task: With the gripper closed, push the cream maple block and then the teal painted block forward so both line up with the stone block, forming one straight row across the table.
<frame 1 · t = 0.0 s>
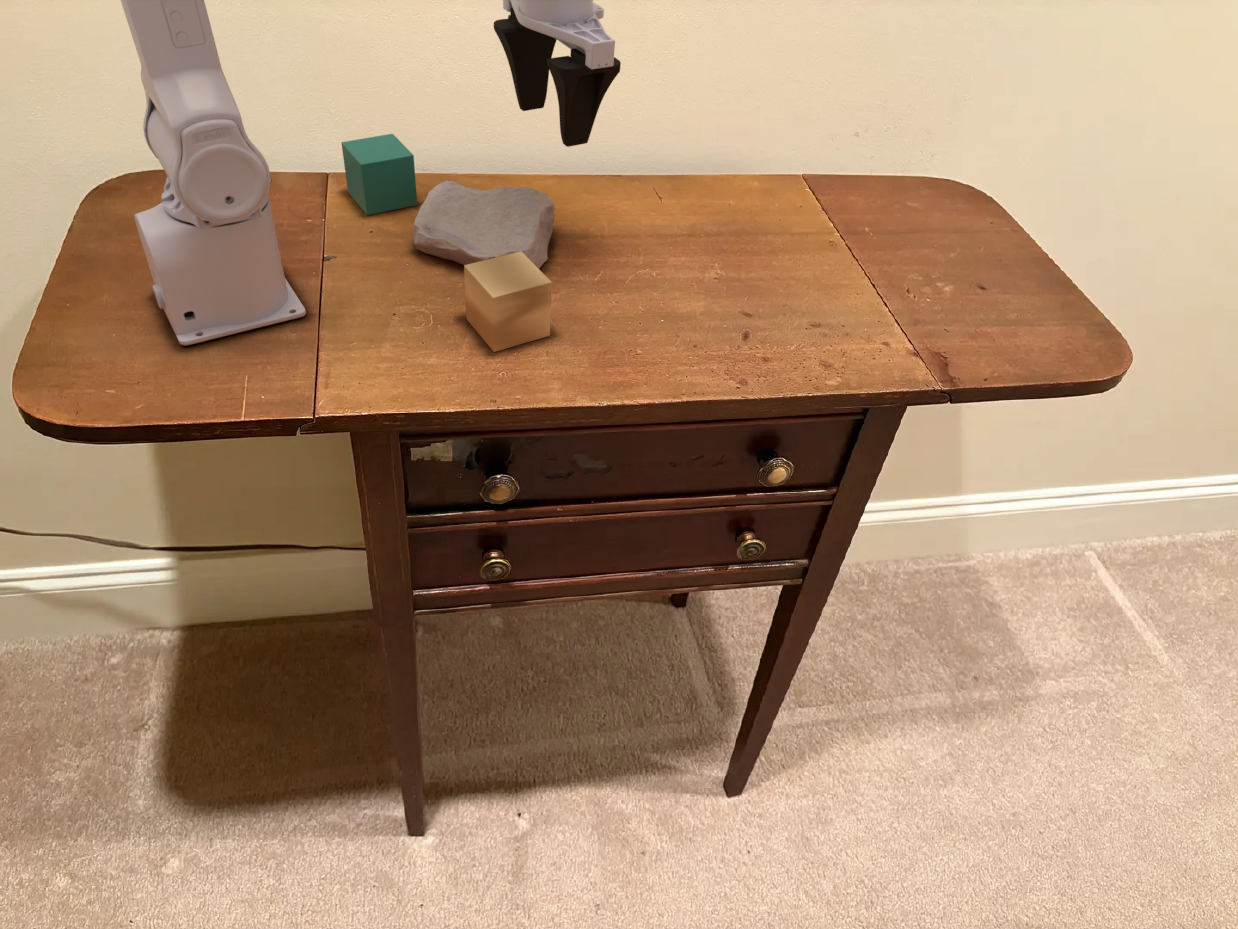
hand: (552, 125, 78), 10 cm above the table, tool pointing down, fingers open, 7 cm apart
teal block: (382, 198, 87), on the table
maple block: (507, 327, 74), on the table
stone block: (483, 249, 83), on the table
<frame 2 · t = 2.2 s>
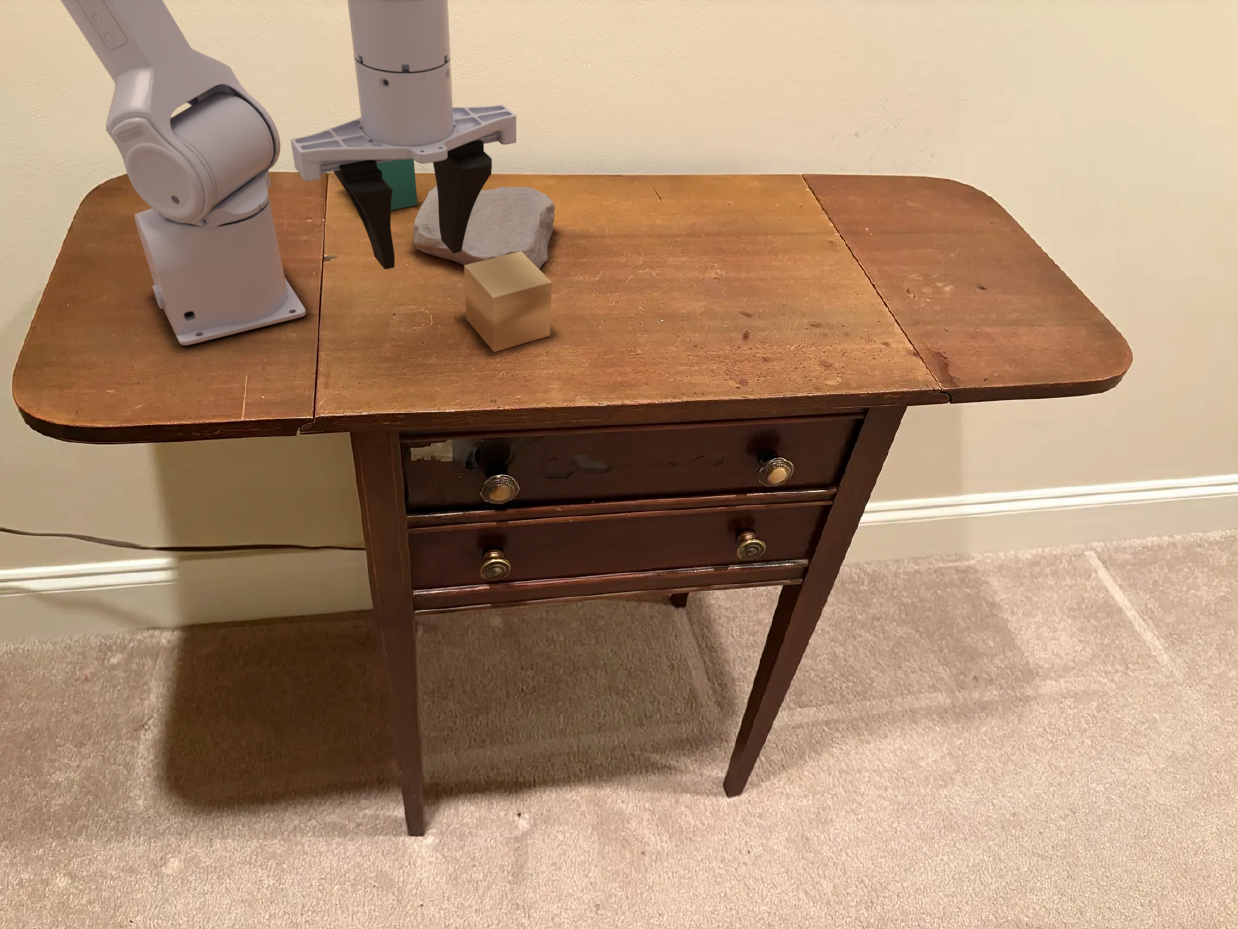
hand: (418, 253, 65), 8 cm above the table, tool pointing down, fingers open, 4 cm apart
nothing on the table moved.
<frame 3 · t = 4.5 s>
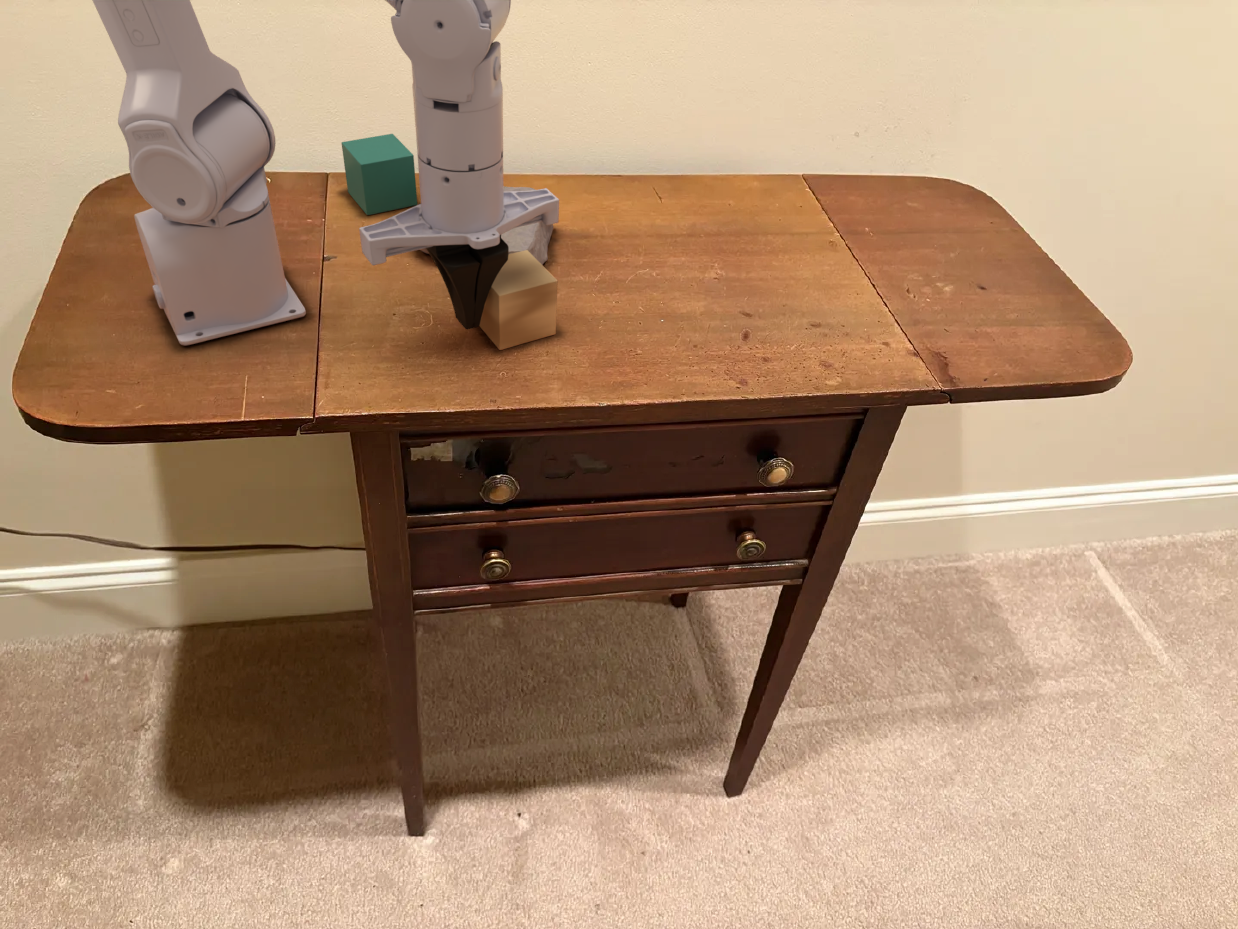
hand: (467, 321, 71), 2 cm above the table, tool pointing down, fingers closed
maple block: (513, 325, 74), on the table, touching gripper
everything else where it was.
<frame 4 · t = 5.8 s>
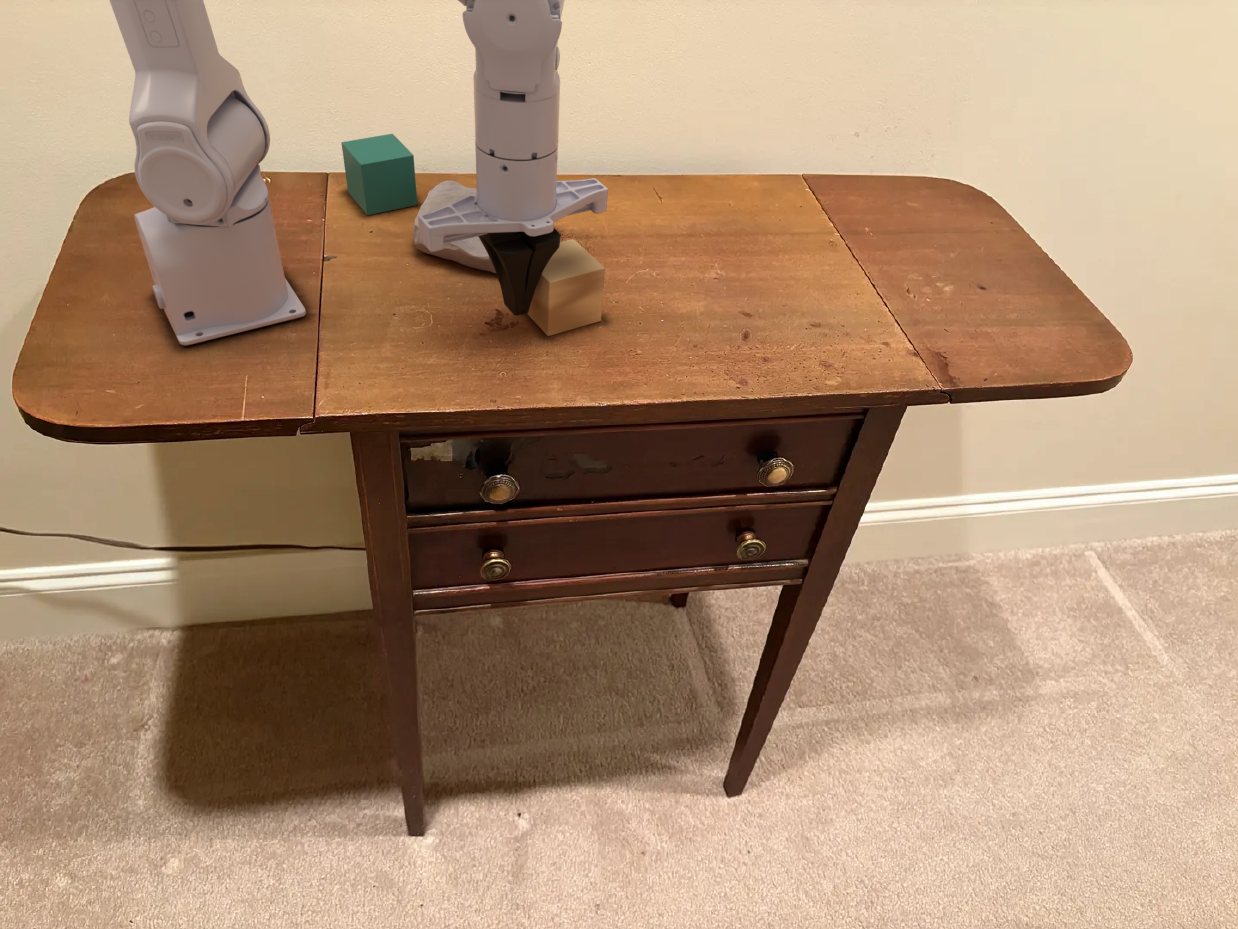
hand: (516, 308, 73), 2 cm above the table, tool pointing down, fingers closed
maple block: (559, 312, 76), on the table, touching gripper
everything else where it was.
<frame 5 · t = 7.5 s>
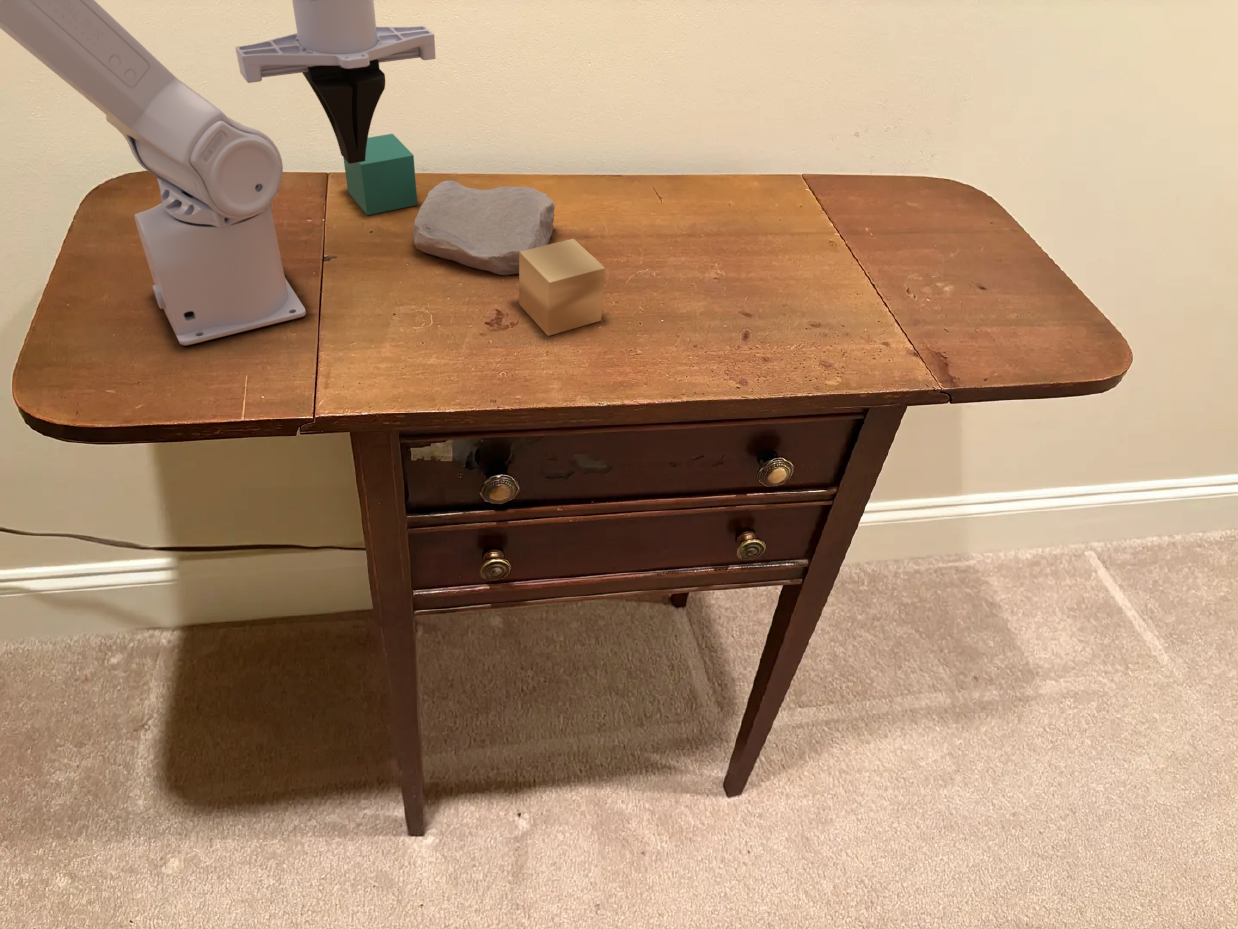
hand: (353, 157, 75), 8 cm above the table, tool pointing down, fingers closed
maple block: (559, 312, 76), on the table
everything else where it was.
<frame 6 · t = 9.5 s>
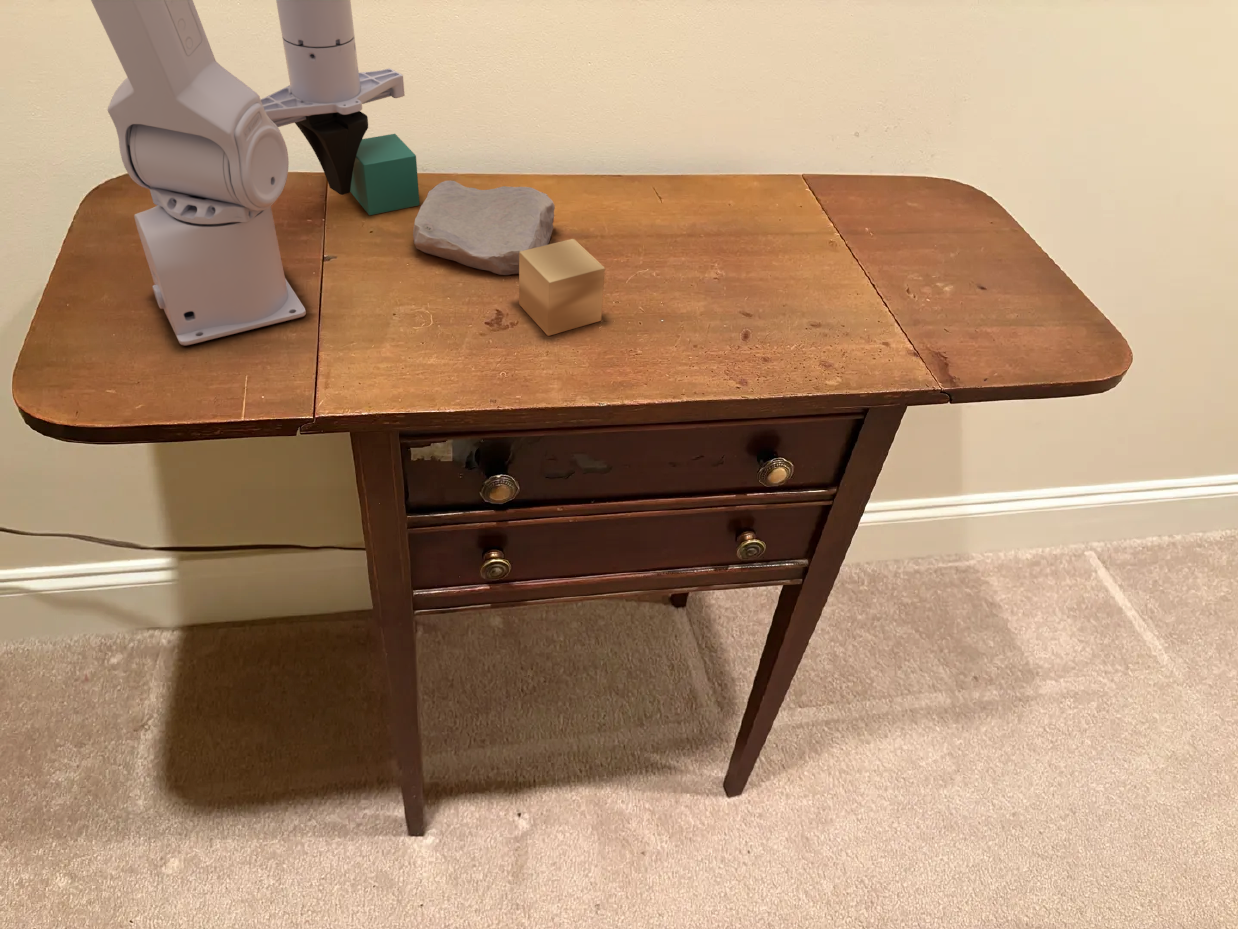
hand: (340, 189, 85), 2 cm above the table, tool pointing down, fingers closed
teal block: (384, 198, 88), on the table, touching gripper
everything else where it was.
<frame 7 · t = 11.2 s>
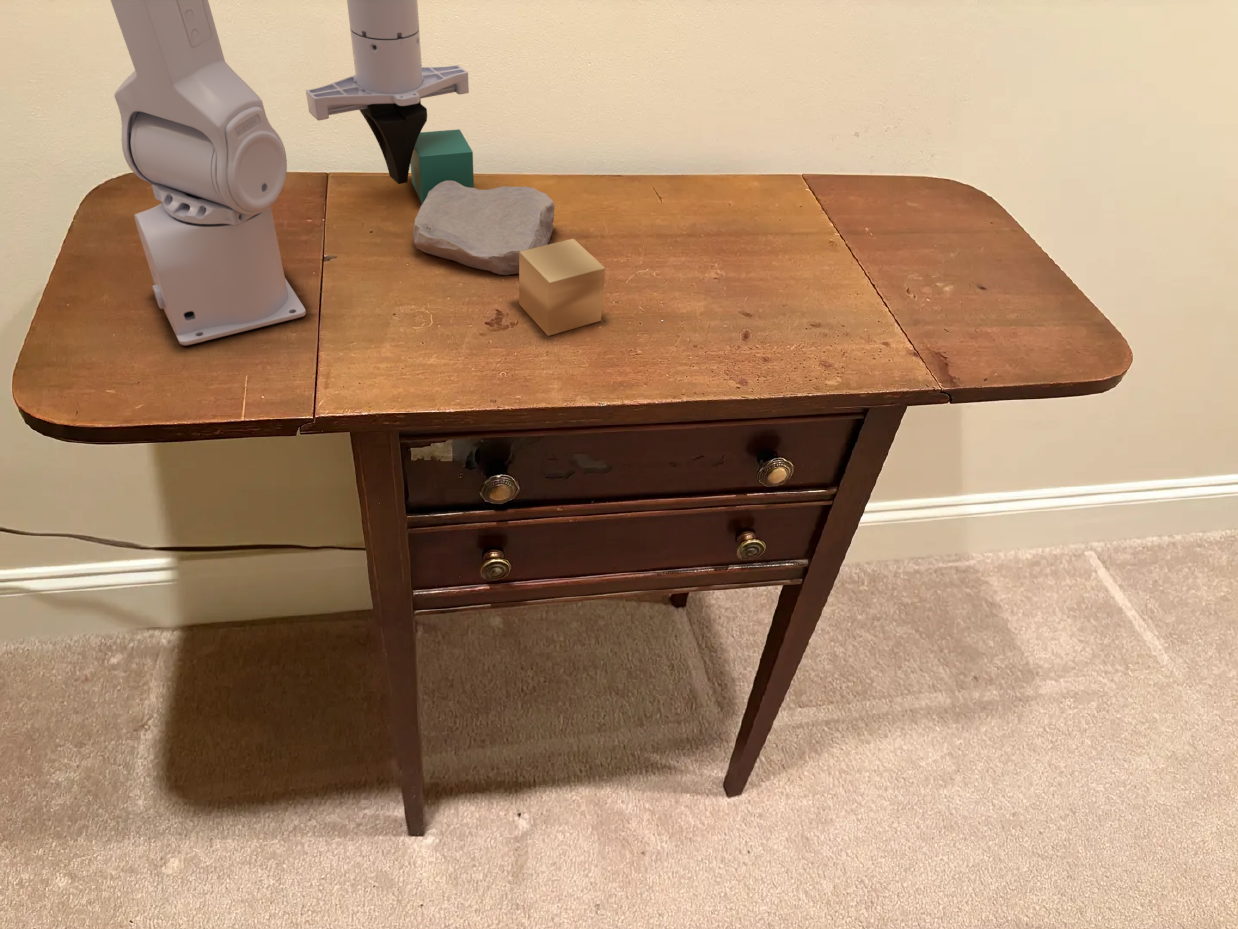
hand: (398, 178, 87), 2 cm above the table, tool pointing down, fingers closed
teal block: (442, 191, 89), on the table, touching gripper
everything else where it was.
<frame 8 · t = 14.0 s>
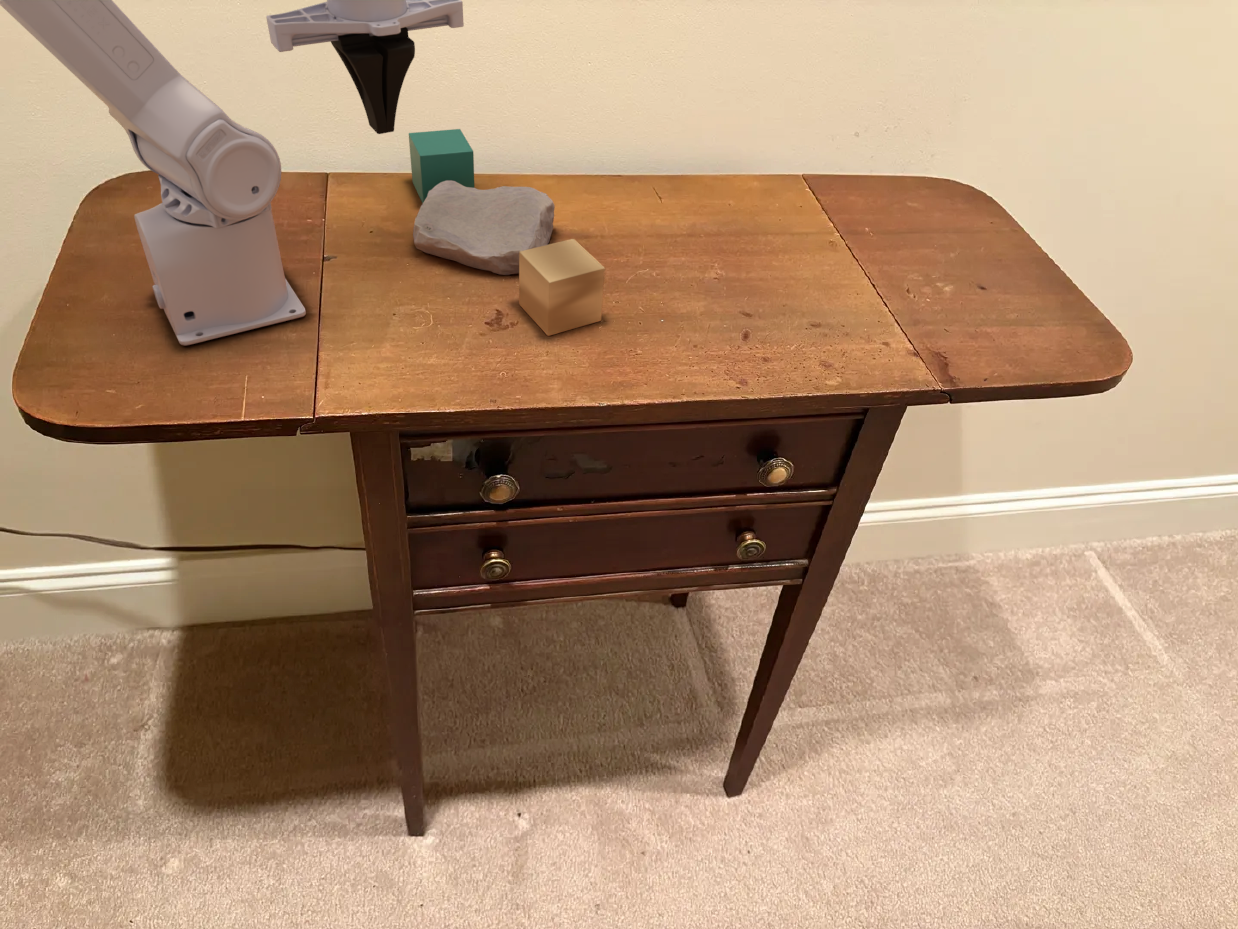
hand: (381, 128, 75), 10 cm above the table, tool pointing down, fingers closed
teal block: (443, 191, 89), on the table
everything else where it was.
at the end: maple block 0.9 cm from the target spot, on the table; teal block 1.3 cm from the target spot, on the table; stone block moved 0.2 cm from its start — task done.
